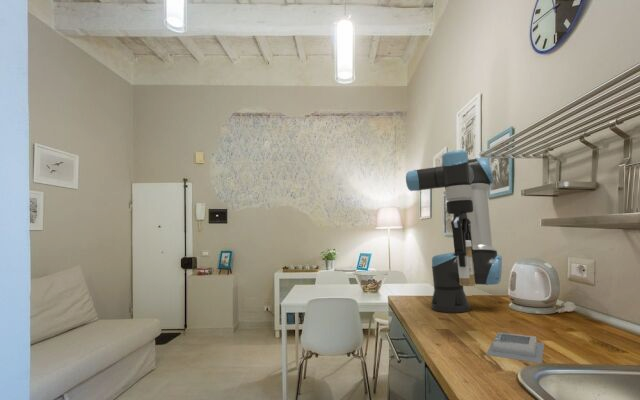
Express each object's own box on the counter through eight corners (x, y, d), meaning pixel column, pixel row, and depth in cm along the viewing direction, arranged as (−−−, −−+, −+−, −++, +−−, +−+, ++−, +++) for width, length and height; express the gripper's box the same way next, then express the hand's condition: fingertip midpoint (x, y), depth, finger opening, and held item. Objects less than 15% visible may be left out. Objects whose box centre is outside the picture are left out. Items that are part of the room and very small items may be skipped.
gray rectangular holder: (495, 340, 96) (495, 337, 96) (544, 346, 89) (544, 343, 89) (486, 358, 83) (485, 354, 83) (542, 367, 76) (541, 363, 76)
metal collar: (499, 341, 93) (498, 332, 93) (537, 346, 87) (535, 336, 88) (494, 351, 85) (493, 341, 86) (535, 357, 80) (533, 346, 80)
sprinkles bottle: (476, 284, 99) (472, 239, 100) (474, 286, 95) (469, 240, 96) (460, 283, 101) (456, 240, 103) (457, 286, 97) (453, 240, 99)
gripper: (454, 203, 110) (461, 273, 107) (437, 200, 96) (445, 280, 94) (478, 200, 106) (486, 273, 103) (464, 197, 92) (473, 281, 89)
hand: (466, 276), depth 98 cm, fingers closed on sprinkles bottle, 4 cm apart
